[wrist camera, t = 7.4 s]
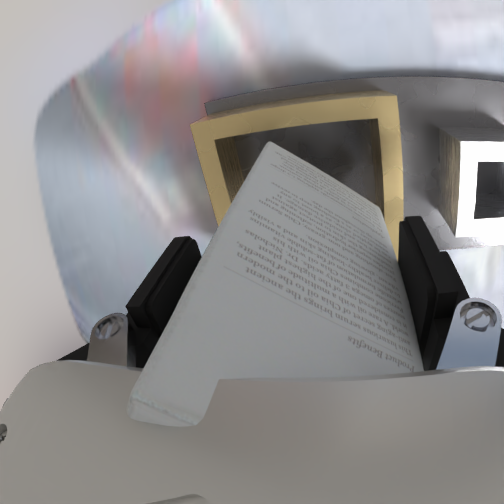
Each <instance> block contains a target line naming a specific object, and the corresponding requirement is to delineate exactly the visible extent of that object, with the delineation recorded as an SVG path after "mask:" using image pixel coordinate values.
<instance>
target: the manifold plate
mask: <svg viewBox="0 0 504 504" xmlns="http://www.w3.org/2000/svg"><path fill="white" fill-rule="evenodd" d="M204 104H205V108H206V112H207V116H205V117H203V118H201V119H200V120H198V121H196V122H194V123H192V124H190V128H191V131H192V135H193V139H194V142H195V146H196V150H197V153H198V157H199V160H200V164H201V168H202V171H203V175H204V178H205V182H206V185H207V189H208V192H209V196H210V199H211V203H212V206H213V210H214V213H215V217H216V220H217V224H218V227H219V225H220V223H221V221H222V219H223V218H224V216H225V214H226V212H227V210H228V209H229V207H230V205H231V203H232V202H233V200H234V198H235V196H236V195H237V193H238V191H239V189H240V188H241V186H242V184H243V183H244V181H245V179H246V177H247V176H248V174H249V172H250V170H251V169H252V167H253V165H254V164H255V162H256V160H257V158H258V157H259V155H260V153H261V152H262V150H263V148H264V147H265V145H266V144H267V143H268V142H273V143H274V144H276V145H278V146H280V147H281V148H283V149H285V150H287V151H288V152H290V153H292V154H294V155H295V156H297V157H299V158H301V159H302V160H304V161H306V162H308V163H310V164H311V165H313V166H315V167H316V168H318V169H319V170H321V171H323V172H324V173H326V174H328V175H330V176H331V177H333V178H334V179H336V180H338V181H339V182H341V183H342V184H344V185H346V186H347V187H349V188H350V189H352V190H353V191H355V192H357V193H358V194H360V195H361V196H363V197H364V198H366V199H367V200H369V201H370V202H372V203H373V204H375V205H376V206H378V207H379V208H380V210H381V212H382V215H383V218H384V221H385V224H386V227H387V230H388V233H389V236H390V239H391V242H392V245H393V248H394V252H395V255H396V258H397V261H398V249H399V222H400V221H404V219H405V217H406V216H421V217H422V218H423V220H424V222H425V224H426V226H427V228H428V229H429V231H430V233H431V235H432V237H433V239H434V241H435V243H436V245H437V247H438V249H439V250H451V249H463V248H474V247H486V246H497V245H504V82H502V81H494V80H484V79H473V78H458V77H433V76H397V77H371V78H355V79H343V80H332V81H323V82H314V83H306V84H299V85H292V86H285V87H279V88H273V89H267V90H261V91H256V92H251V93H246V94H241V95H236V96H231V97H227V98H222V99H218V100H214V101H209V102H207V103H204Z"/></svg>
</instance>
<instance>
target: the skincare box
mask: <svg viewBox="0 0 504 504" xmlns="http://www.w3.org/2000/svg"><path fill="white" fill-rule="evenodd" d="M420 371H424V369H423V363H422V358H421V353H420V349H419V344H418V339H417V334H416V330H415V325H414V321H413V317H412V313H411V309H410V304H409V300H408V297H407V293H406V290H405V286H404V282H403V279H402V275H401V271H400V268H399V265H398V261H397V258H396V255H395V252H394V248H393V245H392V242H391V239H390V236H389V233H388V230H387V227H386V224H385V221H384V218H383V215H382V212H381V210H380V208H379V207H378V206H376V205H375V204H373V203H372V202H370V201H369V200H367V199H366V198H364V197H363V196H361V195H360V194H358V193H357V192H355V191H353V190H352V189H350V188H349V187H347V186H346V185H344V184H342V183H341V182H339V181H338V180H336V179H334V178H333V177H331V176H330V175H328V174H326V173H324V172H323V171H321V170H319V169H318V168H316V167H315V166H313V165H311V164H310V163H308V162H306V161H304V160H302V159H301V158H299V157H297V156H295V155H294V154H292V153H290V152H288V151H287V150H285V149H283V148H281V147H280V146H278V145H276V144H274V143H273V142H268V143H267V144H266V145H265V147H264V148H263V150H262V152H261V153H260V155H259V157H258V158H257V160H256V162H255V164H254V165H253V167H252V169H251V170H250V172H249V174H248V176H247V177H246V179H245V181H244V183H243V184H242V186H241V188H240V189H239V191H238V193H237V195H236V196H235V198H234V200H233V202H232V203H231V205H230V207H229V209H228V210H227V212H226V214H225V216H224V218H223V219H222V221H221V223H220V225H219V227H218V228H217V230H216V232H215V234H214V236H213V237H212V239H211V241H210V243H209V245H208V247H207V248H206V250H205V252H204V254H203V256H202V258H201V260H200V261H199V263H198V265H197V267H196V269H195V271H194V273H193V275H192V277H191V278H190V280H189V282H188V284H187V286H186V288H185V290H184V292H183V294H182V296H181V298H180V300H179V302H178V304H177V306H176V308H175V310H174V312H173V314H172V316H171V318H170V320H169V322H168V324H167V326H166V327H165V329H164V331H163V333H162V335H161V337H160V339H159V340H158V342H157V344H156V346H155V348H154V350H153V352H152V353H151V355H150V357H149V359H148V361H147V363H146V365H145V367H144V369H143V370H142V372H141V374H140V376H139V378H138V380H137V382H136V383H135V385H134V387H133V389H132V391H131V393H130V396H129V401H128V404H127V407H126V412H127V415H128V417H130V418H132V419H134V420H137V421H142V422H147V423H153V424H159V425H165V426H177V427H184V426H194V425H197V424H198V423H199V422H200V421H201V420H202V419H203V417H204V415H205V413H206V410H207V408H208V406H209V403H210V401H211V398H212V396H213V393H214V390H215V388H216V385H217V383H218V380H219V379H239V378H328V377H353V376H370V375H384V374H398V373H410V372H420Z"/></svg>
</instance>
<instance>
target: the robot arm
mask: <svg viewBox="0 0 504 504" xmlns="http://www.w3.org/2000/svg"><path fill="white" fill-rule="evenodd" d="M201 258H202V257H201V254H200V251H199V248H198V245H197V242H196V241H195V240H194V239H192V238H191V237H190V236H184V237H175V238H174V239H173V240H172V242H171V243H170V244H169V246H168V247H167V248H166V250H165V251H164V252H163V254H162V255H161V257H160V258H159V259H158V261H157V262H156V263H155V265H154V266H153V268H152V269H151V270H150V272H149V273H148V275H147V276H146V278H145V279H144V280H143V282H142V283H141V285H140V286H139V288H138V289H137V290H136V292H135V293H134V295H133V296H132V298H131V299H130V301H129V302H128V304H127V305H126V308H127V310H128V313H127V315H126V316H125V315H124V314H122V313H114V314H110V315H107V316H105V317H104V318H102V319H101V320H99V321H98V322H97V323H96V324H95V326H94V327H93V329H92V332H91V336H90V343H88V344H86V345H85V346H83V347H81V348H79V349H77V350H75V351H74V352H72V353H70V354H68V355H66V356H64V357H62V358H61V359H59V360H57V361H53V362H49V363H44V364H41V365H39V366H36V367H35V368H33V369H31V370H30V371H29V372H28V373H27V374H26V375H25V377H24V378H23V379H22V380H21V381H20V383H19V384H18V385H17V387H16V388H15V389H14V391H13V392H12V394H11V395H10V397H9V398H8V399H7V400H6V401H5V403H4V405H3V407H2V409H1V411H0V504H504V329H503V328H501V324H502V318H501V314H500V312H499V310H498V309H497V308H496V306H495V305H494V304H492V303H491V302H489V301H487V300H484V299H481V298H470V297H469V295H468V293H467V291H466V289H465V286H464V284H463V282H462V280H461V278H460V276H459V274H458V272H457V270H456V268H455V266H454V264H453V262H452V260H451V258H450V256H449V254H448V253H447V252H446V251H441V252H440V251H439V249H438V247H437V245H436V243H435V241H434V239H433V237H432V235H431V233H430V231H429V229H428V228H427V226H426V224H425V222H424V220H423V218H422V217H421V216H406V217H405V219H404V221H400V222H399V249H398V265H399V268H400V271H401V275H402V279H403V282H404V286H405V290H406V293H407V297H408V300H409V304H410V309H411V313H412V317H413V321H414V325H415V330H416V334H417V339H418V344H419V349H420V353H421V358H422V363H423V369H424V371H420V372H410V373H398V374H384V375H370V376H353V377H328V378H239V379H219V380H218V383H217V385H216V388H215V390H214V393H213V396H212V398H211V401H210V403H209V406H208V408H207V410H206V413H205V415H204V417H203V419H202V420H201V421H200V422H199V423H198V424H197V425H194V426H184V427H177V426H165V425H159V424H153V423H147V422H142V421H137V420H134V419H132V418H130V417H128V415H127V412H126V407H127V404H128V401H129V396H130V393H131V391H132V389H133V387H134V385H135V383H136V382H137V380H138V378H139V376H140V374H141V372H142V370H143V369H144V367H145V365H146V363H147V361H148V359H149V357H150V355H151V353H152V352H153V350H154V348H155V346H156V344H157V342H158V340H159V339H160V337H161V335H162V333H163V331H164V329H165V327H166V326H167V324H168V322H169V320H170V318H171V316H172V314H173V312H174V310H175V308H176V306H177V304H178V302H179V300H180V298H181V296H182V294H183V292H184V290H185V288H186V286H187V284H188V282H189V280H190V278H191V277H192V275H193V273H194V271H195V269H196V267H197V265H198V263H199V261H200V260H201Z"/></svg>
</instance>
